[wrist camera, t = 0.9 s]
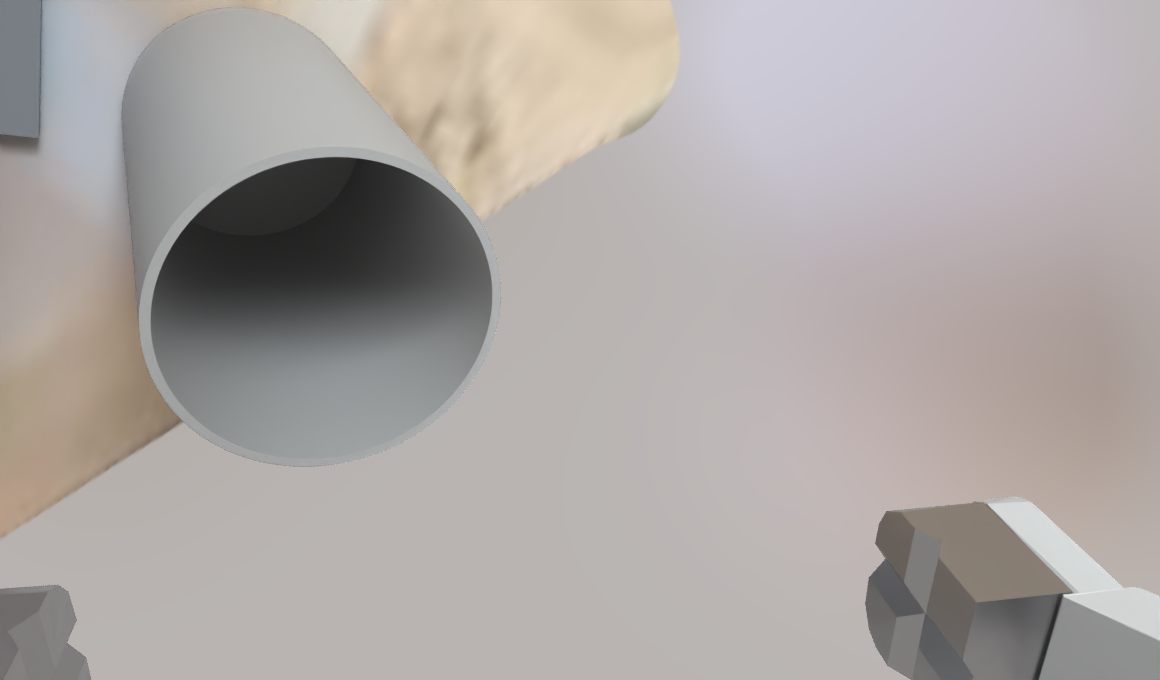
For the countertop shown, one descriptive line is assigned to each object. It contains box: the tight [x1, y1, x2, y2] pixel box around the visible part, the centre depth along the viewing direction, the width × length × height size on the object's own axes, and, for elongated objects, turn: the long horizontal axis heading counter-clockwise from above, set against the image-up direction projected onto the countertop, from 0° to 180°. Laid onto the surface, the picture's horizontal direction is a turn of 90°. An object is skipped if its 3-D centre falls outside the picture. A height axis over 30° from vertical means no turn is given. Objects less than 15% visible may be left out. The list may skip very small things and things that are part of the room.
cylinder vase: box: [122, 8, 501, 467], centre depth 43 cm, size 12×12×25 cm
